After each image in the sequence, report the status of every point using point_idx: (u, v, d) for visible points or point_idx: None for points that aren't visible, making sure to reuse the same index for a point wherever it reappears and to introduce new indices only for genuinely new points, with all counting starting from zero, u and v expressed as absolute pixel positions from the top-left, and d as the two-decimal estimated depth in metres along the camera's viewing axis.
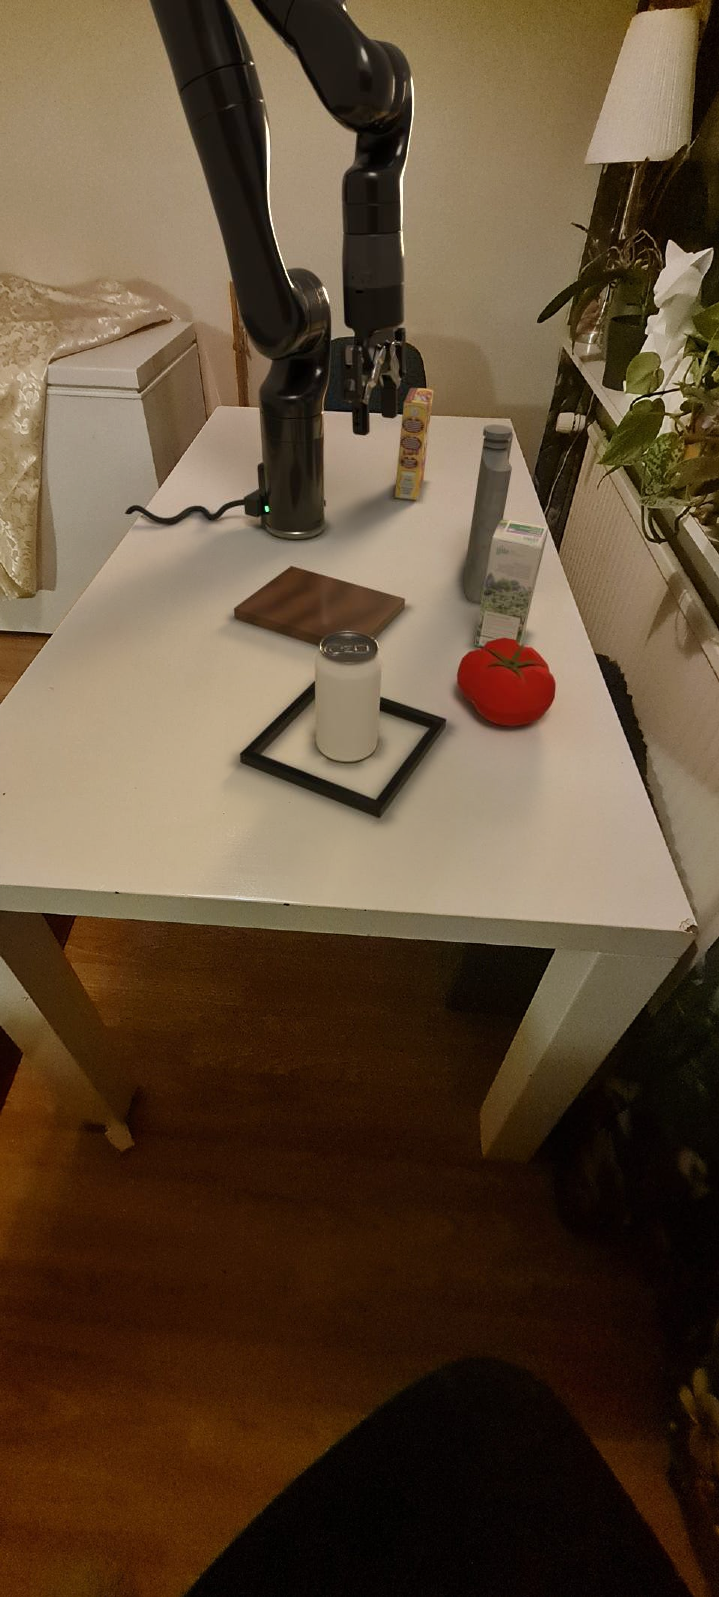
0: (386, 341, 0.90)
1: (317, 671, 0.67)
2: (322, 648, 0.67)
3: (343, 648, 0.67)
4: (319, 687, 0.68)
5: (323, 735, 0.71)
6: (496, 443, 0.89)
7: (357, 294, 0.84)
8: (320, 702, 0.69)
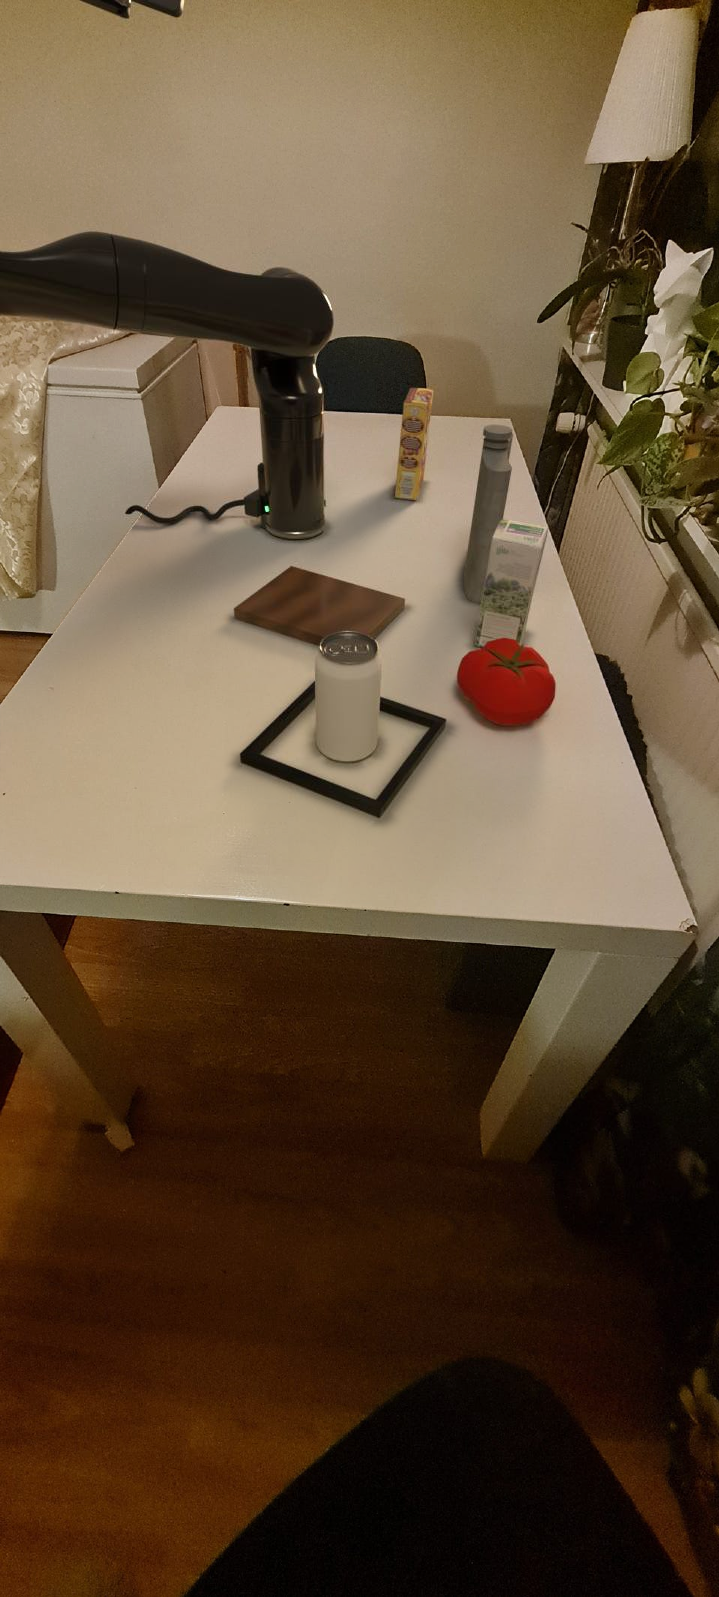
0: None
1: (317, 671, 0.67)
2: (322, 648, 0.67)
3: (343, 648, 0.67)
4: (319, 687, 0.68)
5: (323, 735, 0.71)
6: (496, 443, 0.89)
7: None
8: (320, 702, 0.69)
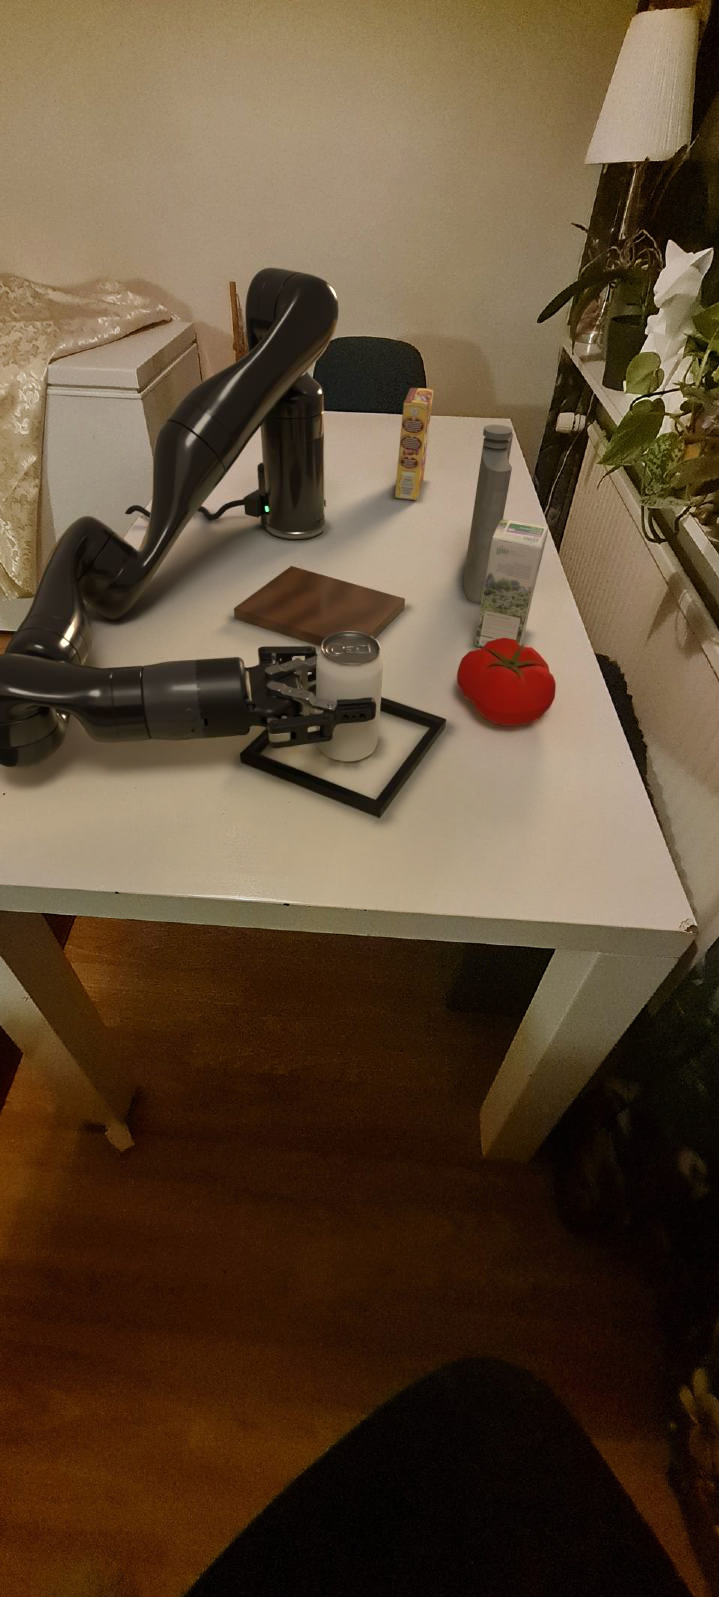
0: (264, 678, 0.69)
1: (318, 671, 0.67)
2: (324, 648, 0.67)
3: (345, 648, 0.67)
4: (320, 687, 0.68)
5: None
6: (496, 443, 0.89)
7: (209, 724, 0.65)
8: None
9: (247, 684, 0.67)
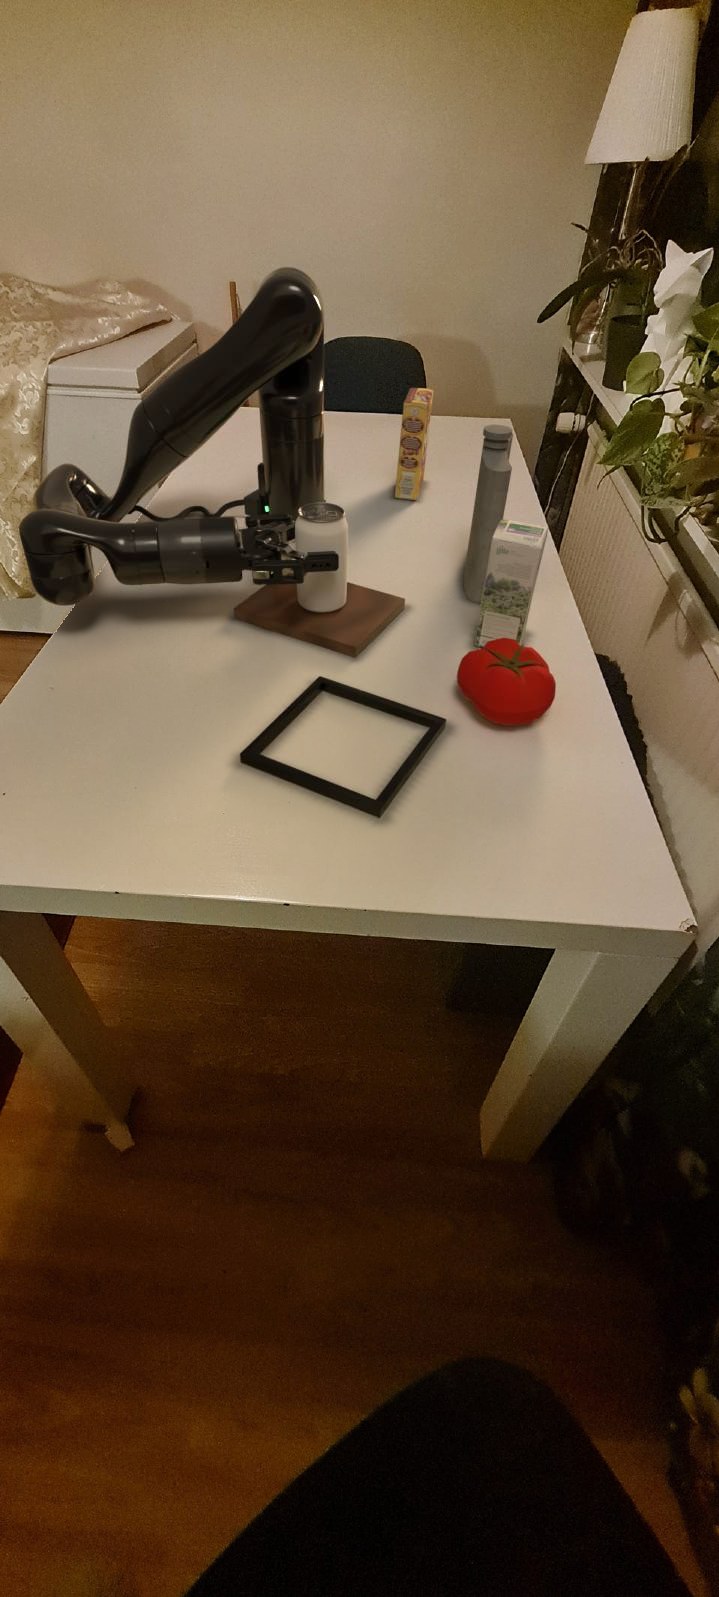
0: (253, 535, 0.86)
1: (296, 531, 0.85)
2: (300, 513, 0.85)
3: (317, 513, 0.85)
4: (298, 545, 0.86)
5: (302, 588, 0.89)
6: (496, 443, 0.89)
7: (210, 566, 0.83)
8: None
9: (240, 538, 0.85)
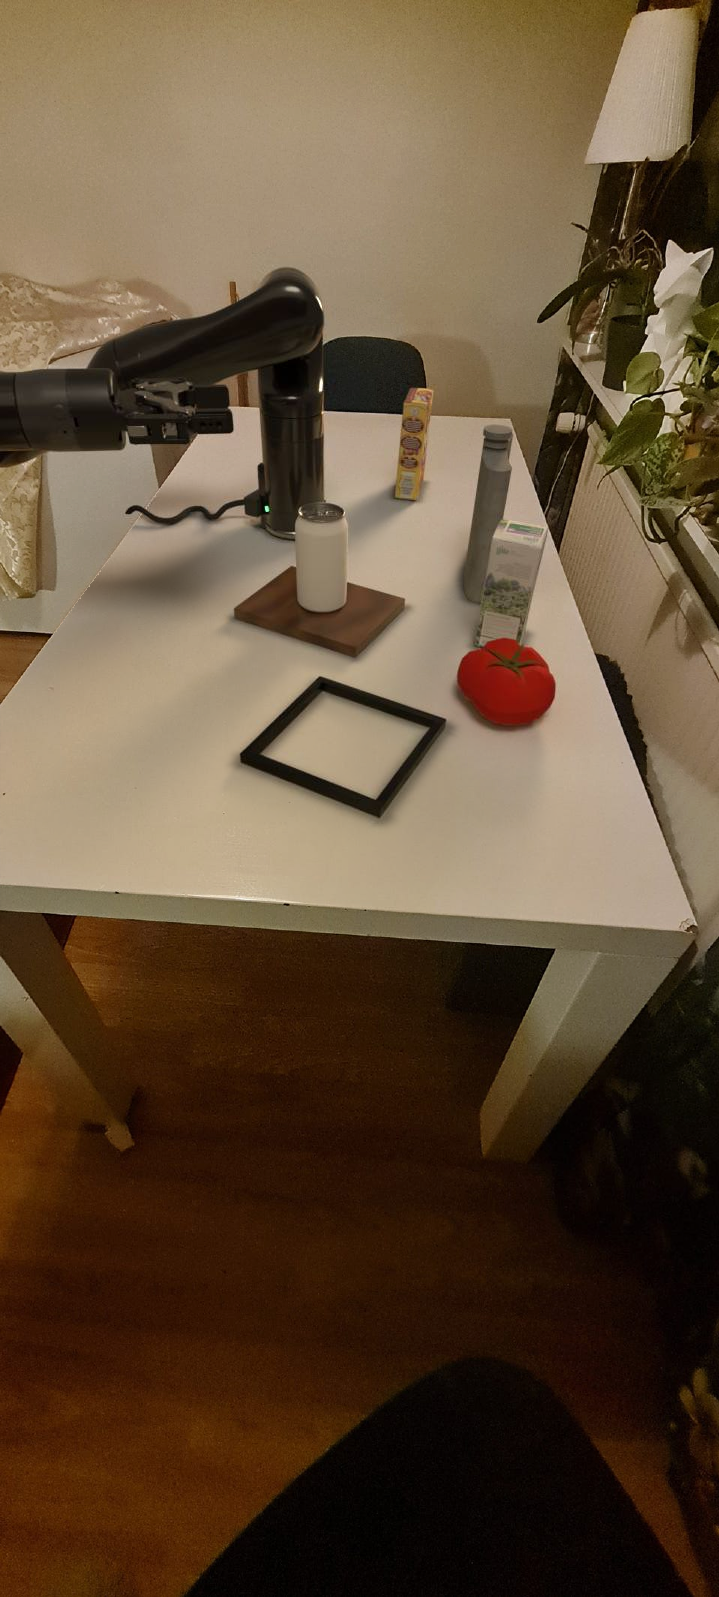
0: None
1: (296, 531, 0.85)
2: (300, 513, 0.85)
3: (317, 513, 0.85)
4: (298, 545, 0.86)
5: (302, 589, 0.89)
6: (496, 443, 0.89)
7: (79, 424, 0.71)
8: (299, 559, 0.87)
9: (118, 395, 0.73)
